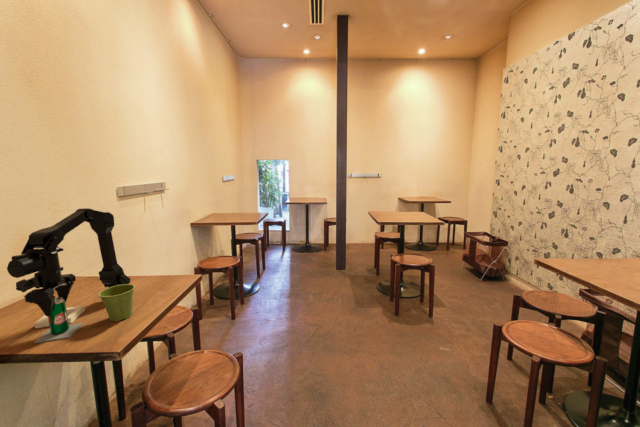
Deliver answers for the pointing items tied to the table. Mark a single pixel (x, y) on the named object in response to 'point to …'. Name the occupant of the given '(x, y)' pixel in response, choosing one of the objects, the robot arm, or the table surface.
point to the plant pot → (118, 301)
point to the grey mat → (50, 337)
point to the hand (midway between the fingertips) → (56, 310)
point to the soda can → (58, 317)
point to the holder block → (73, 314)
